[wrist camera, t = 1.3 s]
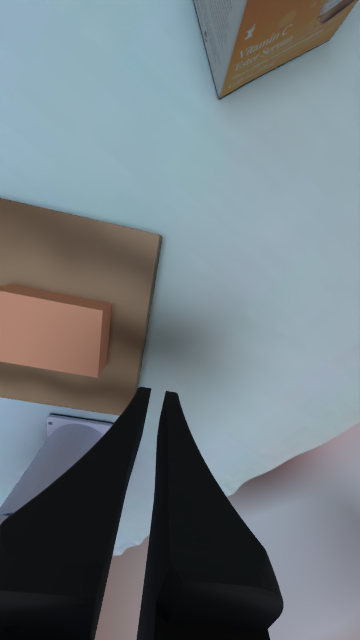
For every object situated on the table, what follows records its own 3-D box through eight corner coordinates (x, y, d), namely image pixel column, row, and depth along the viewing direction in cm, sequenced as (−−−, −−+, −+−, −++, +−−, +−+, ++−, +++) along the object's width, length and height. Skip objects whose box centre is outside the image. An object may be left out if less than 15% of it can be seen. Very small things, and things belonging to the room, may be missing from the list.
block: (106, 364, 18) (97, 377, 16) (17, 348, 17) (-3, 361, 15) (111, 303, 16) (102, 310, 14) (11, 283, 15) (-13, 288, 13)
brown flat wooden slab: (135, 399, 22) (130, 417, 20) (11, 379, 21) (-10, 395, 19) (162, 237, 16) (159, 234, 14) (-9, 198, 15) (-43, 188, 13)
